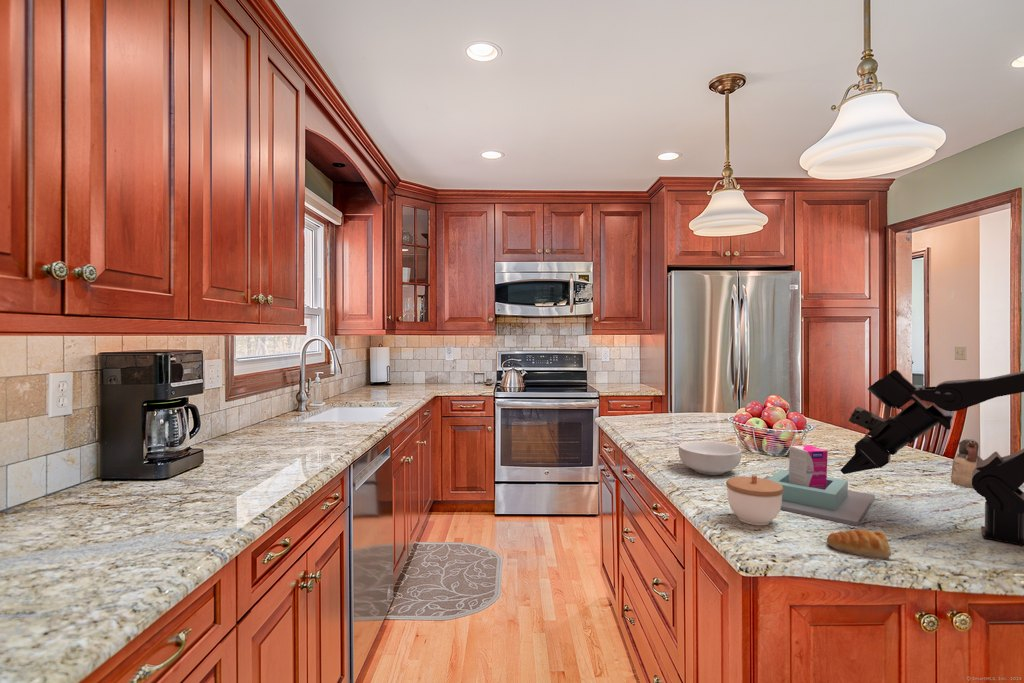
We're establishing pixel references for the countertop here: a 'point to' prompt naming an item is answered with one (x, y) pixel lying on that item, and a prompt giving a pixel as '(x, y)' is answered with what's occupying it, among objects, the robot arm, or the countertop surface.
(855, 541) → the pastry
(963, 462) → the figurine
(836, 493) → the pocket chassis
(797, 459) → the supplement box
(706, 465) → the cereal bowl
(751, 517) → the lidded jar
